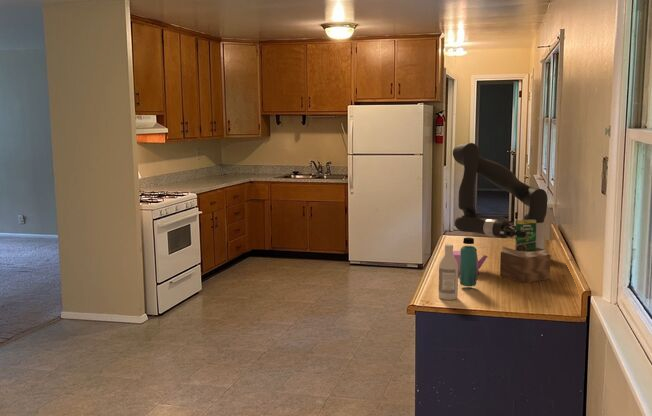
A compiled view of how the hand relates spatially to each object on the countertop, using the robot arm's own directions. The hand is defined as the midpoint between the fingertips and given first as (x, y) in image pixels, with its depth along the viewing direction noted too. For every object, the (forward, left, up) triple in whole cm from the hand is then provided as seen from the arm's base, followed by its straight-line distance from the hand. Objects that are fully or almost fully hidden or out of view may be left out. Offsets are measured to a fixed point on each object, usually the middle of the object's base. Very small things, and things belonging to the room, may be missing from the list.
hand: (530, 233), depth 262 cm
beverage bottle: (+33, +2, -19) cm, 38 cm away
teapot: (+18, -20, -19) cm, 32 cm away
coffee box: (+1, -2, -8) cm, 8 cm away
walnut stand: (+1, -2, -19) cm, 19 cm away
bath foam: (+48, +10, -19) cm, 52 cm away
